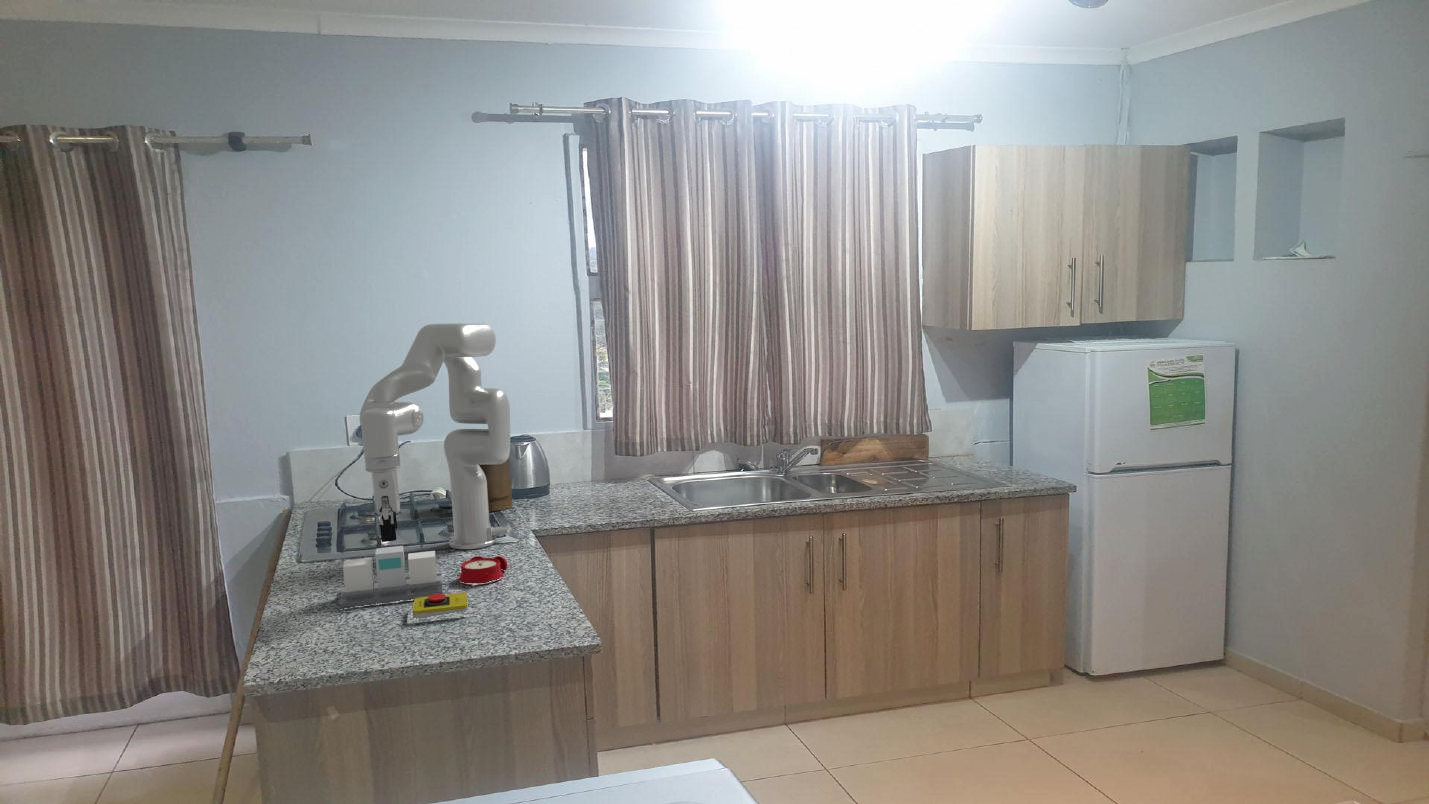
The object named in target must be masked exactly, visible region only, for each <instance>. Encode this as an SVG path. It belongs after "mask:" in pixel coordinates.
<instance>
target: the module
mask: <svg viewBox="0 0 1429 804" xmlns="http://www.w3.org/2000/svg"><path fill="white" fill-rule="evenodd" d="M404 552H405V550H404V545H399V546H398V545H396V546H389V547H379V548H375V568H376V581H377V582H378V588H386V587H394V586H403V585H406V577H407V576H406V564H405V562H406V561H405V553H404Z"/></svg>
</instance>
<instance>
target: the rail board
mask: <svg viewBox="0 0 1429 804" xmlns="http://www.w3.org/2000/svg"><path fill="white" fill-rule="evenodd" d="M434 594H444V593H443V580H442V573H440V572H439V573H437V582H429V583H421V584H413V585H410V577H409V576H408V577H407V576H406V585H403V586H394V587H386V588H378V582H377V580H374V588H373V589H370V590H362V591H354V592H345V584H343V586H342V587H341V589H340V601H339V610H340V609H344V608H350V607H355V606H364V605H371V604H376V603H377V604H378V603H389V602H393V601H400V600H411V599H415V598H418V597H427V596H430V595H434Z"/></svg>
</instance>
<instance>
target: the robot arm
mask: <svg viewBox="0 0 1429 804" xmlns="http://www.w3.org/2000/svg"><path fill="white" fill-rule="evenodd" d="M496 341H497V339H496V333H495V331H494V329H493V328H492V327H491V326H490V325H489V324H487V323H459V322H457V323H430V324H427V325H424V326H423V327H421V328H420V329H419V330H418V332H417V334H416V336H415V338H414V340H413V341H412V342H413V343H412V344H411V347H410V348H409V350H408V352H407V354H406V357H405V358H404V361H403V363H402V364H401V365H400V366H399V367H397V368H396V369H394V370H393V371H391V372H389V373H388V374H386V376H384V377H383V378H382V379H380V380H379V381H377V382H376V383H375V384H374V385H373V386H372V387H371V388H370V390H369V392H368V393H367V396H366V397H365V400H364V401H363V403H362V407H361V409H360V412H359V425H360V427H361V436H362V445H363V446H362V447H363V455H364V456H363V457H364V466H365V472H367V473H371V480H372V488H373V489H372V490H373V497H374V503H375V508H376V509H375V510H376V514H377V515H379V517H380V520H379V521H380V524H379V529H380V540H381V542H382V543H386V542H395V541H397V533H396V532H397V531H396V530H397V528H398V521H397V514H399V512H400V510H401V502H400V501H401V499H400V492H399V481H398V474H397V470H399V469H400V468H401V459H400V449H399V448H400V447H399V436H407V435H412V434H414V433H416V432H417V431H419V430H420V429H421V427H422V426H423V423H424V412H423V410H422V408H421V407H420V406H419V405H418V404H415V403H413V402H407V401H406V402H405V401H404V402H403V401H401V402H399V401H398V402H396V401H397V400H398V399H400V398H402V397H405V396H407V395H410V394H414V393H416V392H419V391H421V390H423V389H426V388H428V387H430V386H431V385H433V383H435V382H436V378H437V376H438V374H439V372H440V369H441V368H442V365H443V363H444V365H445V366H446V369H447V375H448V406H449V408H448V409H449V415H450V418H451V419H452V421H453V422H455V423H457V424H463V425H464V424H465V425H466V424H468V425H469V424H470V425H472V424H473V425H487V428H457V429H454V430H452V431H450V432H449V433H447V435H446V436H445V438H444V441H443V450H444V455H445V458H446V462H447V465H448V466H447V467H448V472H449V482H450V492H451V494H450V495H451V507H452V508H451V509H452V510H451V511H452V524H453V535H454V536H453V537H451V538H450V539H449V541H448V546H449V547H450V548H451V549H455V550H476V549H477V550H478V549H482V548H483V549H484V548H487V547H490V546H492V545H494V544H495V543H496V542H497V536H503V535H508V527H507V526H506V527H505V526H504V527H502V526H496V527H494V526H492V524H491V522H490V512H489V509H488V493H487V480H486V476H485V474H484V472H483V470H482V469H481V467H480V466H479V465H478V464H483V465H497V464H502V463H504V462H506V461H507V459H508V457H509V458H510V452H511V408H510V402H509V398H508V395H507V394H506V392H505V391H503V390H502V389H499V388H493V387H492V388H489V387H488V388H487V387H486V388H483V386H482V371H481V367H480V365H479V363H478V361H477V360H476V359H475V358H476V357H478V358H479V357H486V356H489V355H490V354H491V353H492V352H493V351H494V349H495V347H496V344H497V343H496Z"/></svg>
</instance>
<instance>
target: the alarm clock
mask: <svg viewBox="0 0 1429 804" xmlns="http://www.w3.org/2000/svg"><path fill="white" fill-rule="evenodd" d="M501 569H503V570H505V572H506V571H507V569H508V561H507V559H506V558H505V557H503V556H500V555H499V556H495V557H483V556H481V555H475V556H473V557H471V558H470V559H469V560H467V561H464V562H462V563H461V566H460V572H461V573H460V574H456V577H459V579H458V581H459V580H460V581H461V582H464V583H486V582H489V581H492V580H497V579H499V578H500V577H503V578H504V572H503V571H501Z"/></svg>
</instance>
